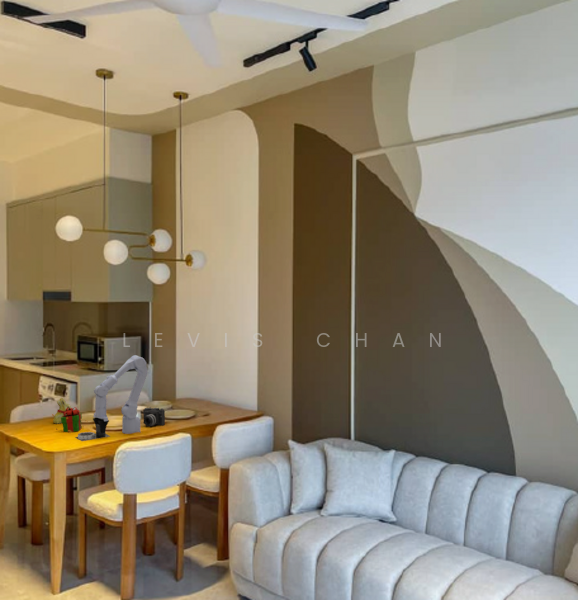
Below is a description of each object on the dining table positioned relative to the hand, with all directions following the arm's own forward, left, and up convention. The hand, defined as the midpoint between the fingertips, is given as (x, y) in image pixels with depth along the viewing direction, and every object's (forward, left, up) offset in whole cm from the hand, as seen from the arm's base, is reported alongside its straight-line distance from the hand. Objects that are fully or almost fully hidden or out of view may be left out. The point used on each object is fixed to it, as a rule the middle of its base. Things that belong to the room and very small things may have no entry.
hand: (100, 431), depth 325 cm
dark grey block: (0, 0, -2) cm, 2 cm away
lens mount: (+5, 0, -3) cm, 5 cm away
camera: (-35, -8, -3) cm, 36 cm away
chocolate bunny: (+5, -46, -3) cm, 47 cm away
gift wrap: (+10, -19, -3) cm, 22 cm away
